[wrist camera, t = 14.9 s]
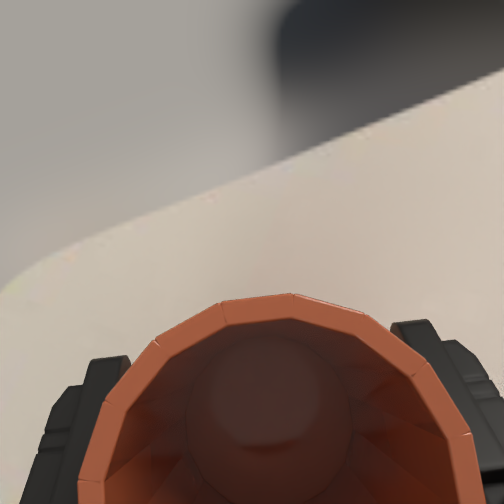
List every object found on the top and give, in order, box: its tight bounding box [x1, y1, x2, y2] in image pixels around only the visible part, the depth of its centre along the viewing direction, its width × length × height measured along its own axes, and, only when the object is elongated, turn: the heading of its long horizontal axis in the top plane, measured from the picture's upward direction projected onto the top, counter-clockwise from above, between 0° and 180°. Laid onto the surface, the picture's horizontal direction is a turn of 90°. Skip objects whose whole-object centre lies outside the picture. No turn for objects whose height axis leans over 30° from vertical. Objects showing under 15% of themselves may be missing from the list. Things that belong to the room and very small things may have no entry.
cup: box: [77, 293, 486, 504], centre depth 11 cm, size 6×6×8 cm
